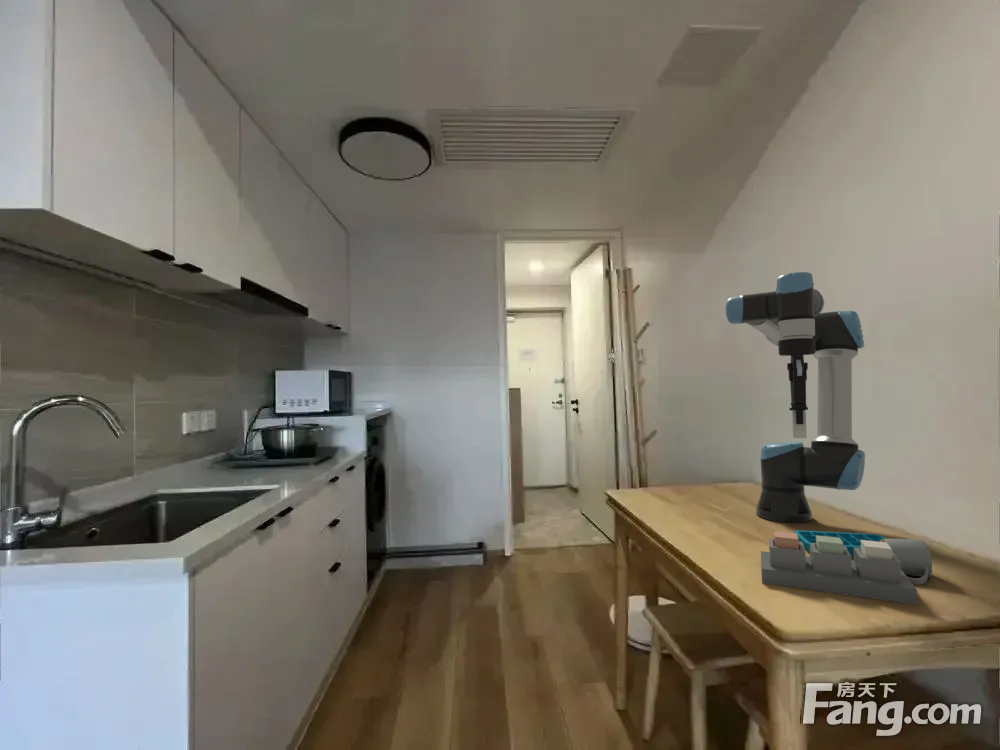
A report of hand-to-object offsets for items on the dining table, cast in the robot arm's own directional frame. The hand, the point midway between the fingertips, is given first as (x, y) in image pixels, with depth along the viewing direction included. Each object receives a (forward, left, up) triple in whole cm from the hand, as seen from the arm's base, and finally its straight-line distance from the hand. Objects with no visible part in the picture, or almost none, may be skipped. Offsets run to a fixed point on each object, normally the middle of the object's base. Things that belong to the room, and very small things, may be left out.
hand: (799, 437), depth 117 cm
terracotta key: (+11, -4, -25) cm, 27 cm away
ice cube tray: (-14, +10, -30) cm, 35 cm away
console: (+11, +4, -29) cm, 32 cm away
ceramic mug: (0, +19, -30) cm, 35 cm away
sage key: (+11, +4, -25) cm, 27 cm away
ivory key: (+11, +12, -25) cm, 30 cm away
